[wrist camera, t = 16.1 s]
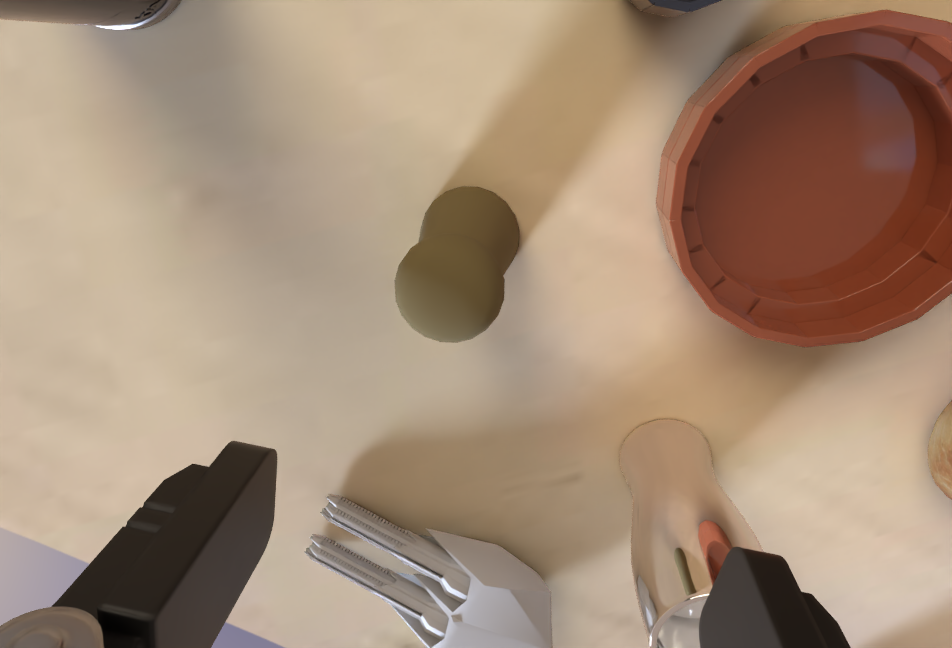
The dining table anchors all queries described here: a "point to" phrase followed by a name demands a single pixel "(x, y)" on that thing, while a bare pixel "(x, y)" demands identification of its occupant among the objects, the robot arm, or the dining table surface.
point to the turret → (443, 583)
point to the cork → (458, 265)
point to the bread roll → (942, 451)
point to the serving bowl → (818, 180)
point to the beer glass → (677, 528)
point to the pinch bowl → (671, 6)
